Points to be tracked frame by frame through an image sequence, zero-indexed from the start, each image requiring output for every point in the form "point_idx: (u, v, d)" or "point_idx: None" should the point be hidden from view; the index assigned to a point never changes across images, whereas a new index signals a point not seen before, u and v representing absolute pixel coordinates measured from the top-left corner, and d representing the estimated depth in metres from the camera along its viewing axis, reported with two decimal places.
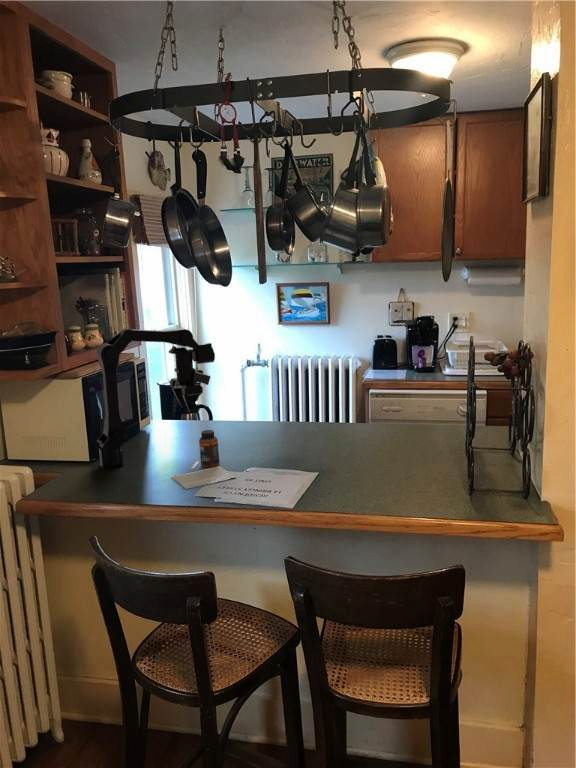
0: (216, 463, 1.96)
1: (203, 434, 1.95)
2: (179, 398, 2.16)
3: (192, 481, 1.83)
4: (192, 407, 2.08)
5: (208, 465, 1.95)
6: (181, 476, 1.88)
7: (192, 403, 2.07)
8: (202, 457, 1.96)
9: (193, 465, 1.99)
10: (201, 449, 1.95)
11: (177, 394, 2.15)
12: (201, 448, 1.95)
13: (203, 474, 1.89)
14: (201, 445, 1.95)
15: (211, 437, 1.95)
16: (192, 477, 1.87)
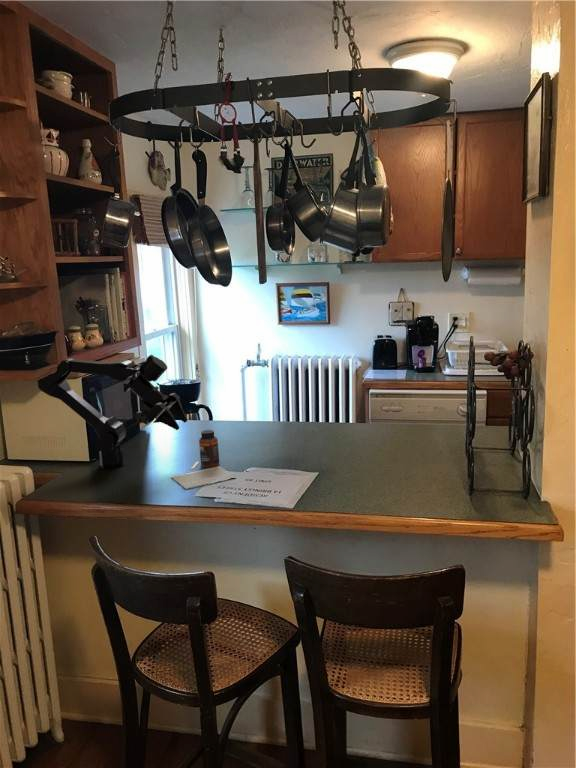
0: (216, 463, 1.96)
1: (203, 434, 1.95)
2: None
3: (192, 481, 1.83)
4: None
5: (208, 465, 1.95)
6: (181, 476, 1.88)
7: None
8: (202, 457, 1.96)
9: (193, 465, 1.99)
10: (201, 449, 1.95)
11: None
12: (201, 448, 1.95)
13: (203, 474, 1.89)
14: (201, 445, 1.95)
15: (211, 437, 1.95)
16: (192, 477, 1.87)
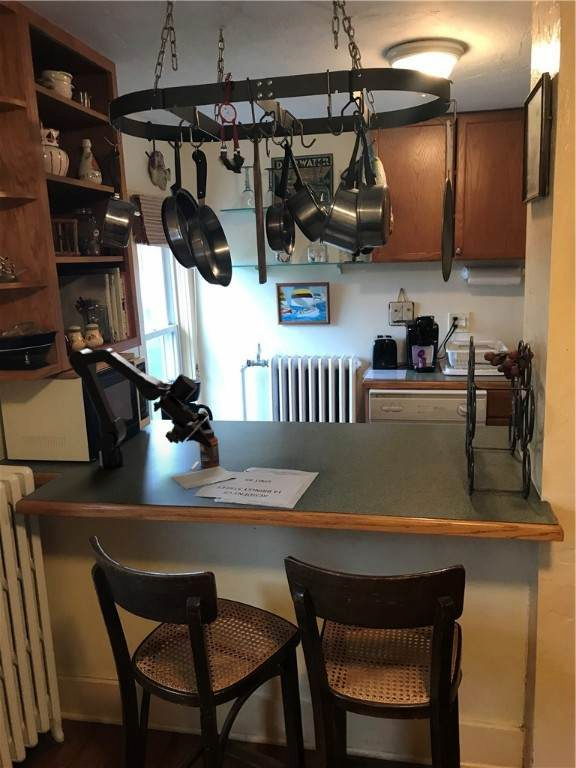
0: (216, 463, 1.96)
1: None
2: None
3: (192, 481, 1.83)
4: None
5: (208, 465, 1.95)
6: (181, 476, 1.88)
7: None
8: (202, 457, 1.96)
9: (193, 465, 1.99)
10: (201, 449, 1.95)
11: None
12: (201, 448, 1.95)
13: (203, 474, 1.89)
14: (201, 445, 1.95)
15: (211, 437, 1.95)
16: (192, 477, 1.87)
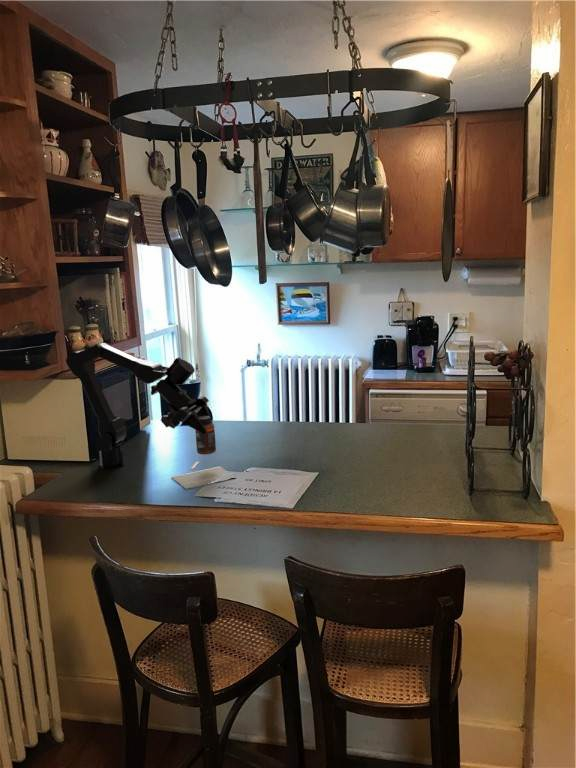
0: (212, 450, 1.91)
1: None
2: None
3: (192, 481, 1.83)
4: None
5: (203, 452, 1.90)
6: (181, 476, 1.88)
7: None
8: (197, 443, 1.91)
9: (193, 465, 1.99)
10: (196, 435, 1.90)
11: None
12: (196, 434, 1.90)
13: (203, 474, 1.89)
14: (196, 431, 1.90)
15: (207, 423, 1.90)
16: (192, 477, 1.87)
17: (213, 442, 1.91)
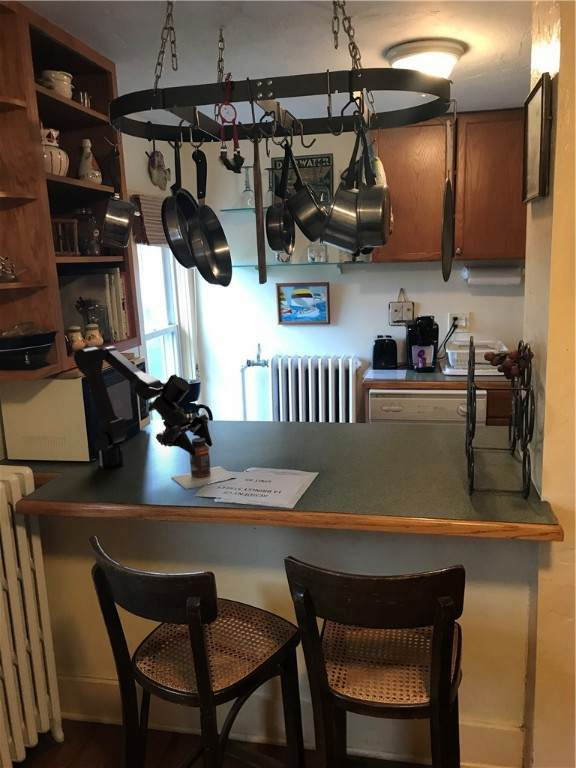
0: (205, 474, 1.86)
1: (192, 442, 1.85)
2: None
3: (192, 481, 1.83)
4: None
5: (196, 475, 1.85)
6: (181, 476, 1.88)
7: None
8: (191, 466, 1.86)
9: None
10: (190, 457, 1.86)
11: None
12: (190, 456, 1.86)
13: None
14: None
15: (200, 446, 1.85)
16: (192, 477, 1.87)
17: (206, 465, 1.86)
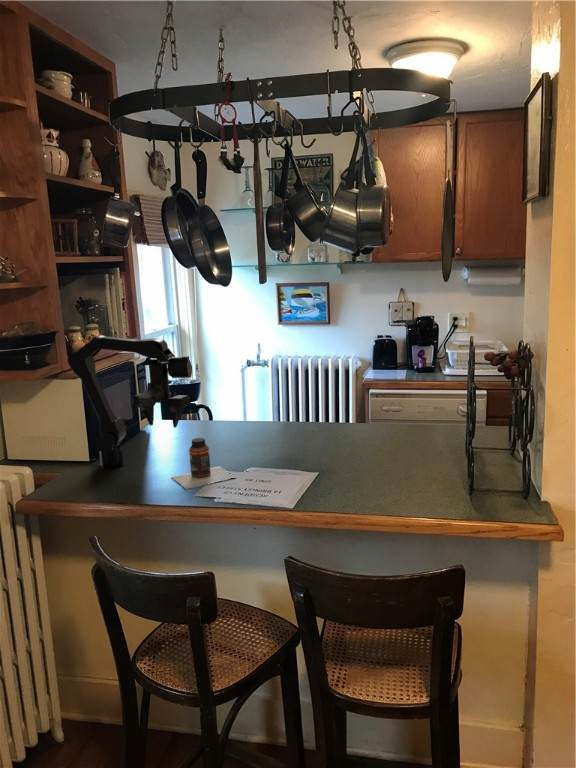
0: (205, 474, 1.86)
1: (192, 442, 1.85)
2: None
3: (192, 481, 1.83)
4: None
5: (196, 475, 1.85)
6: (181, 476, 1.88)
7: None
8: (191, 466, 1.86)
9: None
10: (190, 458, 1.86)
11: None
12: (190, 456, 1.86)
13: None
14: (190, 453, 1.85)
15: (200, 446, 1.85)
16: (192, 477, 1.87)
17: (206, 465, 1.86)
